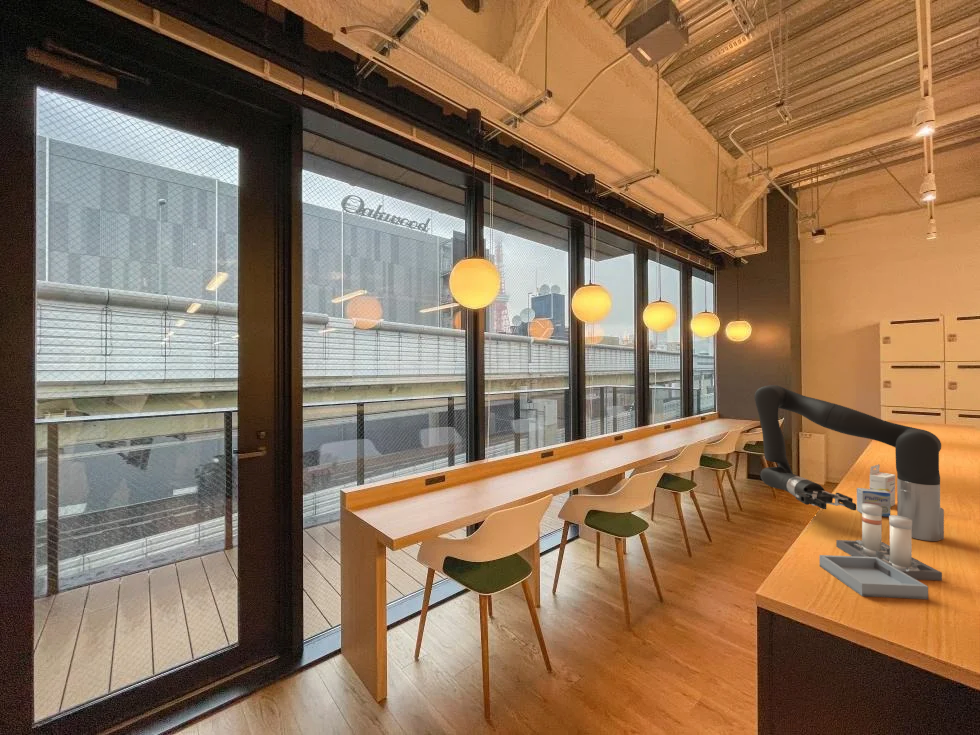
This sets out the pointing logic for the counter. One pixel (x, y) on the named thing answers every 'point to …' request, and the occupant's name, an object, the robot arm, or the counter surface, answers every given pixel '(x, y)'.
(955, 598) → the counter surface
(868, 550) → the banded white cylinder
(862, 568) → the tray
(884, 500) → the medicine box
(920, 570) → the clip holder
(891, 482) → the ink box
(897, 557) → the fuse
